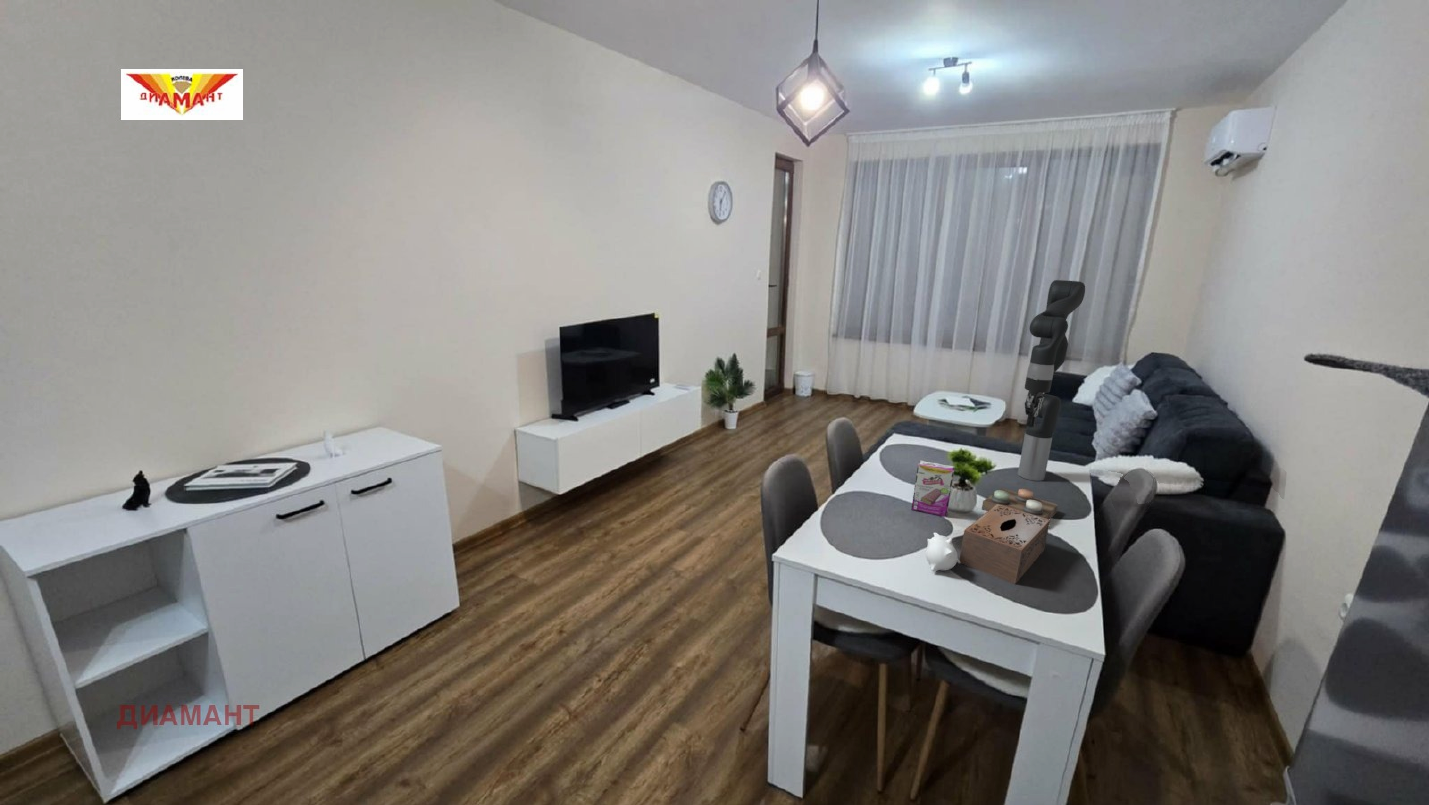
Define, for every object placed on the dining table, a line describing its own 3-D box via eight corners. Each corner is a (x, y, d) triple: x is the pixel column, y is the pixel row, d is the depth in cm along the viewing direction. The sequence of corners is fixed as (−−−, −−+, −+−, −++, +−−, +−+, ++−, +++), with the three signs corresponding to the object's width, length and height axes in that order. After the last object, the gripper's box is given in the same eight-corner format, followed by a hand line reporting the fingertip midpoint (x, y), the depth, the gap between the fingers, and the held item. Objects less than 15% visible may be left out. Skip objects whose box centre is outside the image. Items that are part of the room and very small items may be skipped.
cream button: (1028, 504, 184) (1029, 498, 184) (1042, 508, 181) (1044, 503, 181) (1023, 507, 181) (1024, 502, 181) (1038, 512, 178) (1039, 506, 178)
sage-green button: (996, 494, 191) (997, 489, 191) (1010, 498, 188) (1011, 493, 188) (991, 498, 188) (992, 492, 188) (1005, 502, 185) (1006, 496, 185)
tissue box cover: (1014, 585, 145) (1021, 550, 143) (958, 563, 155) (964, 530, 152) (1043, 551, 163) (1050, 519, 161) (992, 533, 173) (997, 503, 170)
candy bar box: (910, 510, 186) (917, 464, 182) (912, 505, 190) (918, 459, 186) (947, 518, 181) (954, 470, 177) (947, 512, 186) (954, 465, 182)
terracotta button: (1020, 493, 193) (1021, 487, 193) (1034, 497, 190) (1035, 491, 190) (1015, 496, 190) (1016, 491, 190) (1029, 500, 187) (1030, 495, 187)
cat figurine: (938, 523, 157) (941, 541, 146) (969, 547, 156) (975, 567, 144) (917, 544, 160) (919, 563, 149) (948, 568, 159) (952, 589, 147)
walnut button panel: (1000, 495, 200) (1002, 485, 199) (1056, 512, 188) (1058, 502, 187) (981, 509, 189) (983, 498, 188) (1040, 528, 176) (1042, 516, 175)
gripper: (1033, 372, 194) (1024, 420, 198) (1020, 377, 185) (1011, 427, 189) (1057, 376, 189) (1048, 425, 193) (1045, 381, 180) (1035, 432, 184)
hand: (1030, 426), depth 191 cm, fingers closed
